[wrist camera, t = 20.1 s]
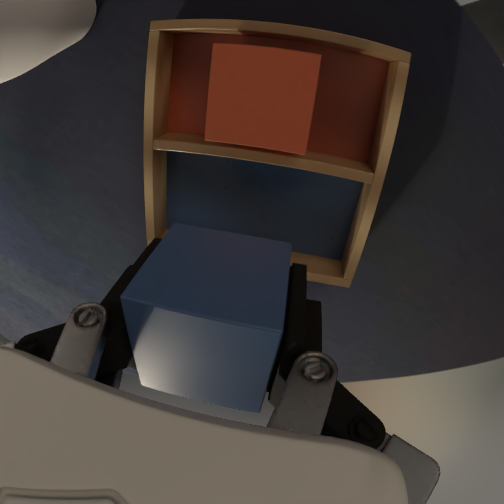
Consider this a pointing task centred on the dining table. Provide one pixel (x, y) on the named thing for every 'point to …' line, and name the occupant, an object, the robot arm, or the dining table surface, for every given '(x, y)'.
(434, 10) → the dining table surface
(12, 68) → the mug
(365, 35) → the dining table surface
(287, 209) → the tray
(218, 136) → the terracotta block
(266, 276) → the blue block
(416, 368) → the dining table surface
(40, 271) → the dining table surface
